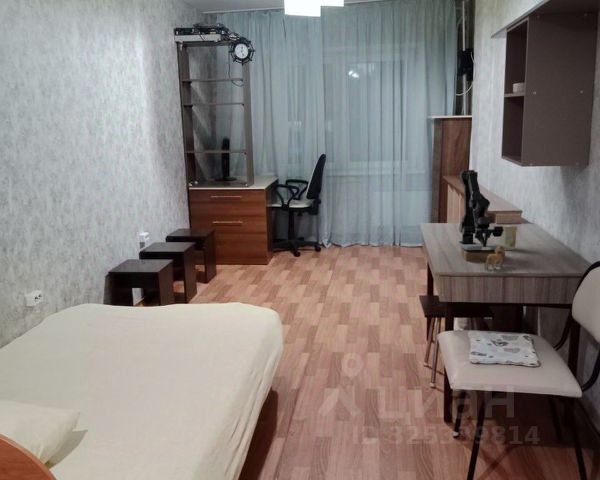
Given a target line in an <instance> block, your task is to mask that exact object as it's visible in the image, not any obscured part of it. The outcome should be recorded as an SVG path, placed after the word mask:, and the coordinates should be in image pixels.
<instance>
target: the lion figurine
mask: <svg viewBox="0 0 600 480" xmlns="http://www.w3.org/2000/svg"><path fill="white" fill-rule="evenodd" d="M505 251H506V250H504V248H503V247H502V246H498V247H497V248H496V250H495V252H496V253H495V254H490V255H488V257H487V261H485V264H484V270H487V271H489V263H491V268H492V270H497V266H498V262H499V267H500V268H503V262H504V261H503V259H504V255H505V256H506V252H505ZM504 252H505V253H504Z"/></svg>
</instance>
